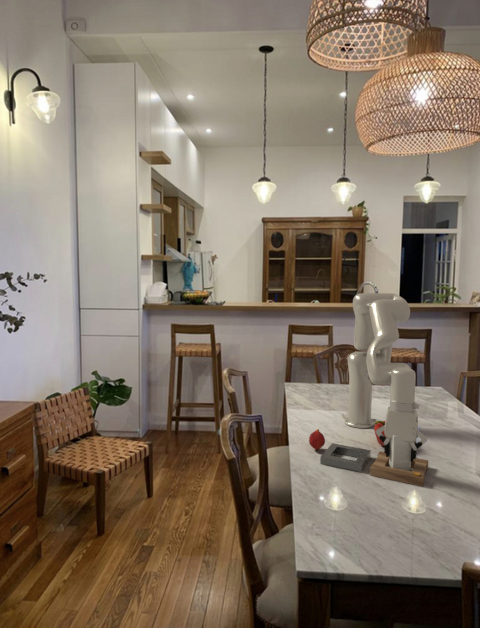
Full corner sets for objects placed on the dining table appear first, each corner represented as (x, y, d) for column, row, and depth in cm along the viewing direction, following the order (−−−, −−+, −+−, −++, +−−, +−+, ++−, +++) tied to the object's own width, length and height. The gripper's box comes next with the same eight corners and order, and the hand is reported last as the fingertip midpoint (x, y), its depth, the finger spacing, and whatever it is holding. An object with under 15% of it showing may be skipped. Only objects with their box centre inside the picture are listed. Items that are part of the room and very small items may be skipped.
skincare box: (405, 465, 152) (407, 431, 151) (410, 471, 148) (412, 436, 146) (387, 465, 152) (389, 431, 151) (392, 471, 148) (394, 436, 146)
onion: (312, 453, 164) (313, 432, 163) (306, 447, 169) (306, 427, 168) (327, 452, 165) (327, 430, 164) (320, 446, 171) (320, 425, 170)
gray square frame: (332, 449, 167) (332, 443, 167) (370, 457, 161) (370, 450, 161) (320, 463, 155) (320, 456, 155) (361, 472, 149) (361, 465, 148)
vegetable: (381, 452, 165) (382, 425, 164) (366, 442, 175) (367, 417, 174) (407, 449, 168) (408, 423, 167) (391, 439, 178) (391, 414, 177)
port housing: (379, 458, 160) (379, 450, 160) (428, 467, 153) (428, 459, 152) (370, 475, 147) (370, 466, 146) (422, 486, 139) (423, 477, 139)
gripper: (431, 406, 147) (429, 459, 149) (377, 399, 155) (375, 449, 157) (429, 413, 140) (426, 467, 142) (372, 404, 148) (370, 456, 150)
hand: (399, 457), depth 149 cm, fingers closed on skincare box, 7 cm apart
